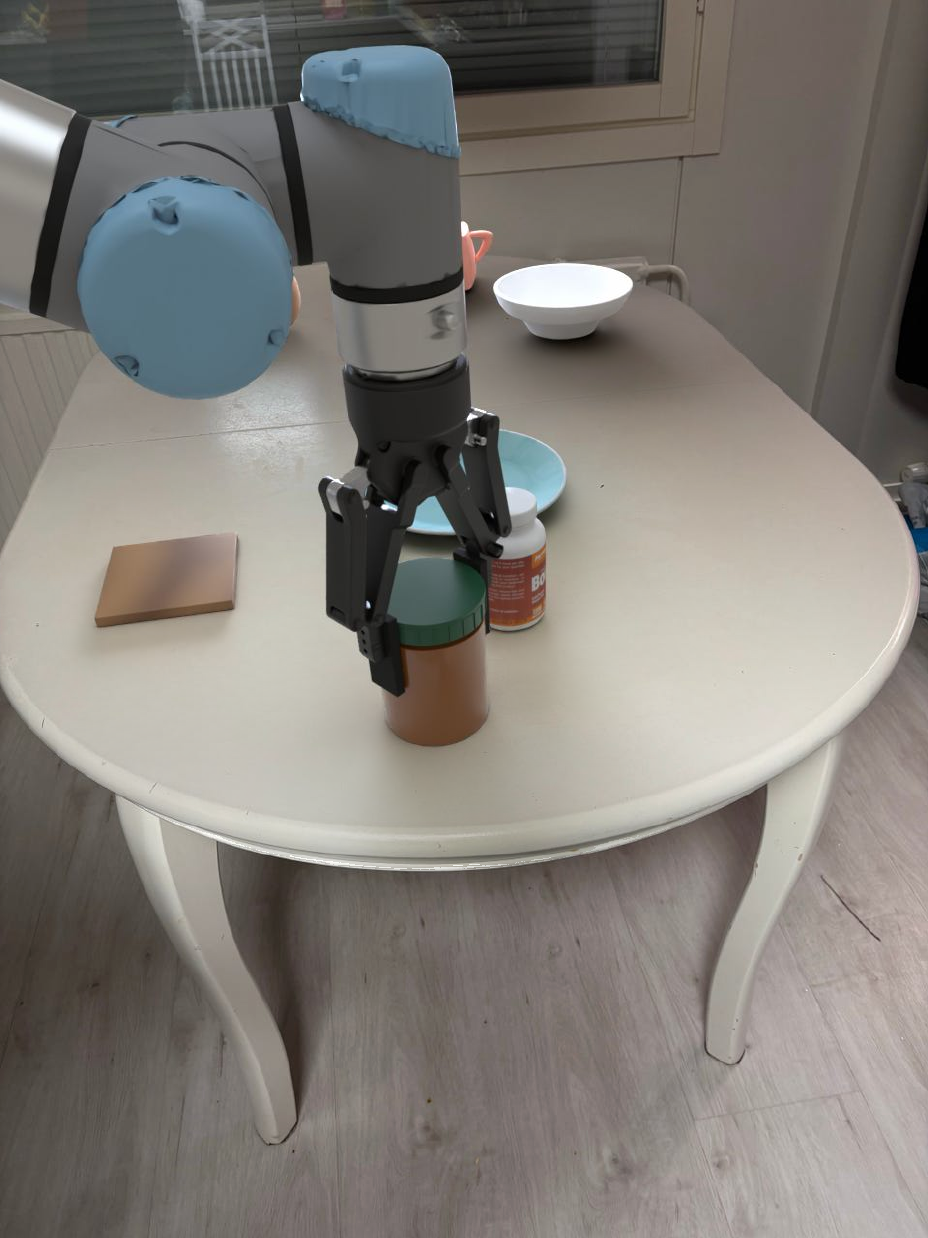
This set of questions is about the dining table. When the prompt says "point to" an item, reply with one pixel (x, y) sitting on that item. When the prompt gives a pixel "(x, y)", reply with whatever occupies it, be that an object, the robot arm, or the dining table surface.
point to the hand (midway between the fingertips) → (432, 655)
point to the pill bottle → (519, 567)
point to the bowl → (563, 297)
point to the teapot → (472, 252)
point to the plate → (506, 479)
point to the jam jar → (441, 691)
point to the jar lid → (436, 601)
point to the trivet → (169, 579)
